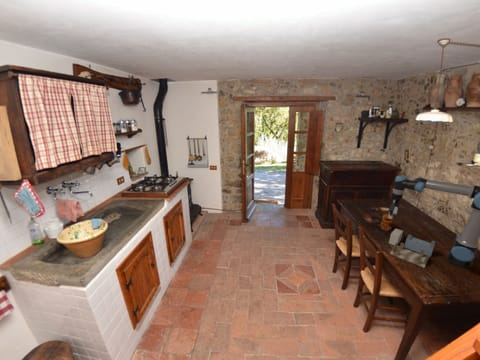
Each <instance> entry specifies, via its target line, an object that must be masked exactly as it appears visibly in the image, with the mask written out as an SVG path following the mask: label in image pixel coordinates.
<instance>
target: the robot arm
mask: <svg viewBox="0 0 480 360" xmlns="http://www.w3.org/2000/svg"><path fill="white" fill-rule="evenodd" d="M405 189H406V190H411V191H415V192H423V191H424V190H425V189H427V190H434V191H437V192H438V191H439V192H444V193H449V194H450V193H451V194H454V195H461V196H466V197H468V198H470V199H473V201H472V202H471V205H470V208H471V212H470V214H469V217H468V219H467V221H466V224H465V226H464V227H463V230H462V233H459V234H457V235H456V236H455V240H454V243H453V245H452V248H451V250H450V251H449V252H448V253H447V254H446V256H445V259H446V260H447V261H448V262H450V263H451V264H453V265H455V266H457V267H460V268H464V269H470V268H473V265H474V262H473V260H474V259H475V255H476V253H477V251H478V249H479V240H480V185H472V186H471V185H464V184H458V183H453V182H445V181H439V180H433V179H428V178H424V177H422V176H420V177H416V178H414V179H413V180H411V179H408V177H407V176H405V175H397V176H396V177H395V180H394V184H393V188H392V193H391V197H392V198H393V199H392V201H391V204H390V207H389V209H388V212H389V213H388V214H389V216H388V218H390V220H393V219H392V217H394V216H393V215H397V214H398V209H399V208H400V200H402V199H403V197H404V193H405Z"/></svg>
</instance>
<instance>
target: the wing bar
mask: <svg viewBox="0 0 480 360" xmlns="http://www.w3.org/2000/svg"><path fill="white" fill-rule="evenodd" d="M403 233H404V230H401V229H398V228H395V229H394V230H392V232H391V233H390V236H389V242H388V244H390V245H392V246H394V245H395V244H396V243H398V244H400V243H401V241H402V238H403Z"/></svg>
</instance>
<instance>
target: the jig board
mask: <svg viewBox="0 0 480 360" xmlns="http://www.w3.org/2000/svg"><path fill="white" fill-rule="evenodd" d="M404 246H405V243H404V242H401V241H400V242H399V243H396V244H395V245H392V248H391V251H390V252H389V254H390V255H392V256H393V257H394V256H395V257H396V258H398V259H399V258H400V259H402V260H405V261H407V262H410V263H411V264H413V265H416V266H419V267H421V268H422V269H423V268H424V269H425V268H426V265H427V264H428V261H429V259H430V257H429V255H428V254H427V256H426V255H424V253H425V251H423V250H421V252H420V253H418V252H416V251H413V250H410V249H408V248H405V247H404Z"/></svg>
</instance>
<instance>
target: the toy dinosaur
mask: <svg viewBox="0 0 480 360" xmlns="http://www.w3.org/2000/svg"><path fill="white" fill-rule="evenodd" d="M388 216H389V213H384V214H383V215H382V217H381V220H382V221H381V222H380V224H379V227H380V229H381V230H382V229H383V230H382V231H385V232H388V231H390V230H392V226H391V225H392V223H393V222H394V216H393V217H392V219H390V218H388Z"/></svg>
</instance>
